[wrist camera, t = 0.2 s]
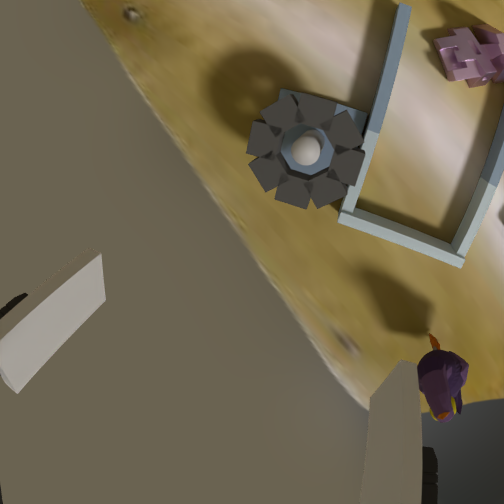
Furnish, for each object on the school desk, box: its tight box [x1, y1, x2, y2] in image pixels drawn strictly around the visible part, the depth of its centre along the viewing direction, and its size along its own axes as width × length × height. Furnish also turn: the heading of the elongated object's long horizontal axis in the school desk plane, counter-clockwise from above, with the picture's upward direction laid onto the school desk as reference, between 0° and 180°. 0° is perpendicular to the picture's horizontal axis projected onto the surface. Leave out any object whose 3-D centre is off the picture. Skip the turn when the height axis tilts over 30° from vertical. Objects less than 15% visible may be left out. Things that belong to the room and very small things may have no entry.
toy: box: [417, 333, 469, 422], centre depth 32 cm, size 11×12×7 cm
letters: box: [433, 24, 504, 88], centre depth 19 cm, size 8×7×6 cm
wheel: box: [246, 93, 366, 209], centre depth 26 cm, size 10×10×2 cm
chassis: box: [278, 3, 504, 269], centre depth 25 cm, size 24×25×8 cm
